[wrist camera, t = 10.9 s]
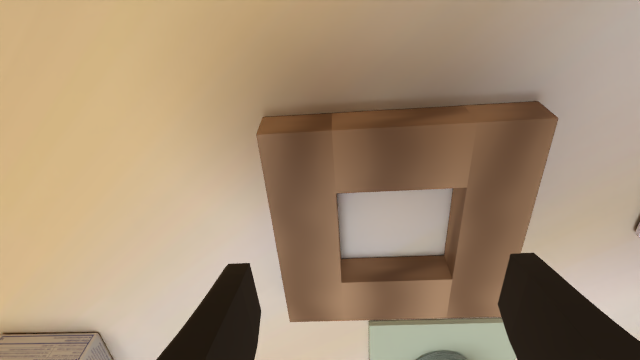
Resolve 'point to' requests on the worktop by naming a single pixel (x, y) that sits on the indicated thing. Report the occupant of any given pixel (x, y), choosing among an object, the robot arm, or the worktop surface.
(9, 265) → the worktop surface
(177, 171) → the worktop surface
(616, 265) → the worktop surface
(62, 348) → the medicine box
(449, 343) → the rubber mat
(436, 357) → the shiny metal cylinder
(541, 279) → the robot arm
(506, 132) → the bore plate
